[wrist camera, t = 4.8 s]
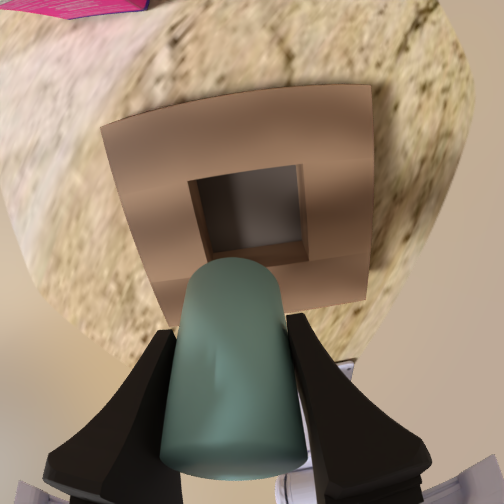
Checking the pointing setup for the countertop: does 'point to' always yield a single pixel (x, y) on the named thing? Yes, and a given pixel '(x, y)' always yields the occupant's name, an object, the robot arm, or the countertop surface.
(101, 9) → the supplement box
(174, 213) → the socket block
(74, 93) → the countertop surface
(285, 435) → the peg
